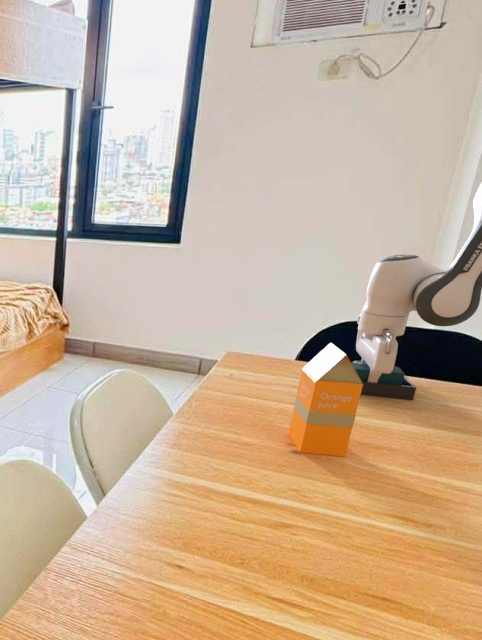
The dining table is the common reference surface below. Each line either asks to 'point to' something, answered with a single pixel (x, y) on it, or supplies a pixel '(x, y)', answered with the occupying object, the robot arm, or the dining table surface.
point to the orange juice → (326, 404)
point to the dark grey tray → (390, 389)
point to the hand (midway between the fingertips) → (367, 380)
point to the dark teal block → (392, 378)
